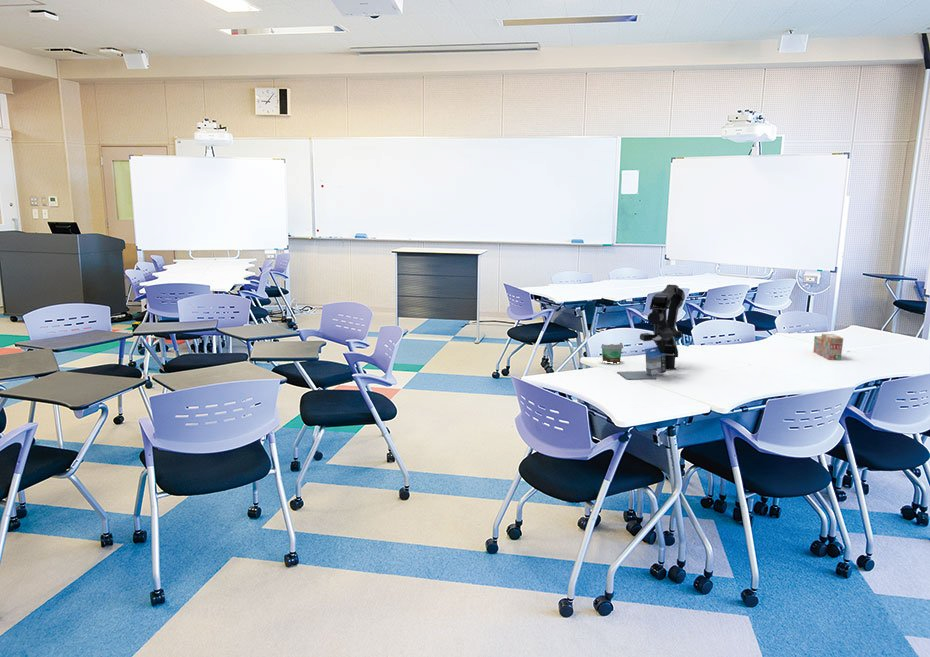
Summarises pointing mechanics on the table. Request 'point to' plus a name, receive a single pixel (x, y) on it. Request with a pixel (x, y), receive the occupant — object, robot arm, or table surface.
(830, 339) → the printed cardboard box
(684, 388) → the table surface
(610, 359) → the food container
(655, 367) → the label tape cartridge
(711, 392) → the table surface
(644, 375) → the mat
